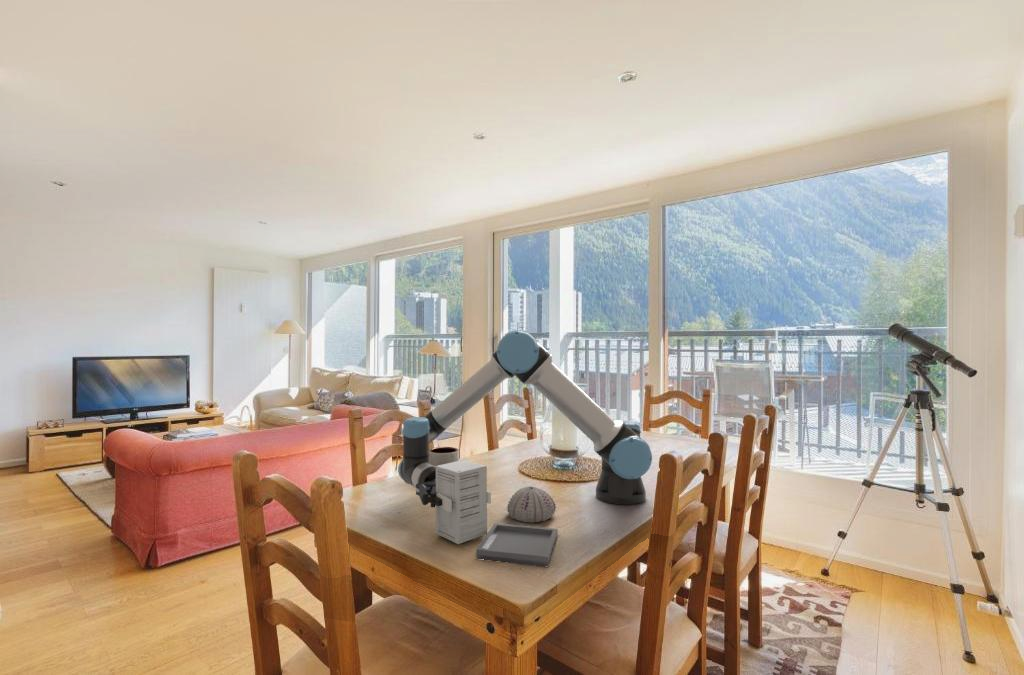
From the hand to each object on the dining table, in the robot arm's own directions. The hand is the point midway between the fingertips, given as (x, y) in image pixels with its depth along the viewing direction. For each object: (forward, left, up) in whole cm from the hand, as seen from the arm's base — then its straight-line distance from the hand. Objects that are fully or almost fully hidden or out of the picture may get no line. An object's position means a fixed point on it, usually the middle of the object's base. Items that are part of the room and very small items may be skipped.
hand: (470, 501), depth 118 cm
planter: (+26, -52, -10) cm, 59 cm away
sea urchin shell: (-11, -21, -10) cm, 26 cm away
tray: (-12, 0, -10) cm, 15 cm away
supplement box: (+3, -3, -9) cm, 10 cm away
